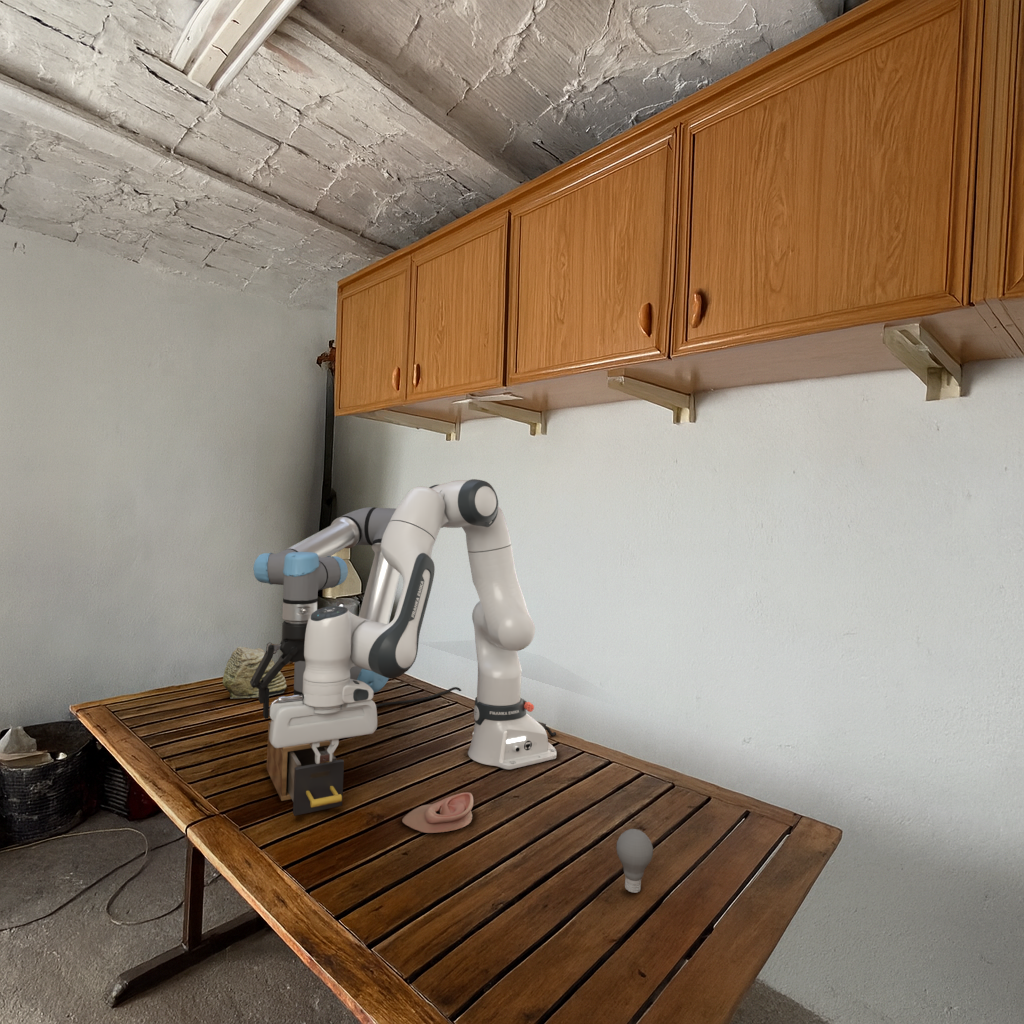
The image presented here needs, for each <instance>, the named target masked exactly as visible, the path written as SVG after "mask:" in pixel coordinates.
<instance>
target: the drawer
mask: <svg viewBox="0 0 1024 1024" xmlns="http://www.w3.org/2000/svg"><path fill="white" fill-rule="evenodd" d="M316 748H317V750H318V751H319V752H322V751H327V749H328V747H327V746H321V747H316ZM344 770H345V761H344V759H343V758H341V759H337V757H336V756H335V754H334V755H333V753H332V762H327V763H321V764H316V762H315V752H314V751H313V749H312V748H309V749H303V750H296V751H290V752H288V757H287V784H286V789H287V791H288V793H289V795H290V797H291V799H290V800H292V814H293V816H300V815H305V814H309V813H315V812H319V811H325V810H328V809H333V808H334V809H335V808H337V807H342V806H343V796H344V795H343V794H344V772H345V771H344Z"/></svg>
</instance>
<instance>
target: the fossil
mask: <svg viewBox="0 0 1024 1024" xmlns="http://www.w3.org/2000/svg"><path fill="white" fill-rule="evenodd" d="M265 653H266V651H265V650H264V649H263V648H260V647H258V648H251V647H247V646H246V647H245V646H238V647H237V648H236V649H235V650H233V651H232V653H231V656H230V657H229V659H228V660H227V663H226V666H225V668H224V671H223V675H222V676H223V677H222V685H223V687H224V688H225V690H226V691H228V693H229V698H230V699H250V698H259V689H258V688H253V687H252V686H251V684H250V681H251V679H252V677H253V675H254V673H255V671H256V670H257V668H258V666H259V664H260V662H261V660H262V658H263V656H264V655H265ZM275 663H276V662H274V660H273V658H272V659H271V661H270V663H269V665H268V667H267V668H266V670H265V672H264V674H263V676H262V678H261V680H262V679H263V677H264V676H265V675H266V674H267V673H268V672H269V670H270V669H271V668H272V667H273V666H274V664H275ZM261 680H260V681H261ZM287 687H288V686H287V680H286V678H285V676H284V674H283V673H282V672H281V671H280V672H279V673H278V674H277V675H276V676H275V678H274V679H273V680H272V681H271V682H270V684H269V685H268V688H269V697H271V696H275V695H281V694H284V693H285V691H286V689H287Z"/></svg>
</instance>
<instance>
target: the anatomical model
mask: <svg viewBox="0 0 1024 1024" xmlns="http://www.w3.org/2000/svg"><path fill="white" fill-rule="evenodd" d="M473 807H474V796H473V794H472V793H471V792H467V791H466V792H461V793H456V794H453V795H450V796H448V797H445V798H443V799H441V800H439V801H436V802H434V803H431V804H430V803H429V804H423V805H421V806H418V807H416V808H414V809H412V810H411V811H409V812H408V813H407V814H405V816H403V817H402V820H401V821H402V823H403V824H404V825H405V826H406V827H409V828H410V829H412V830H415V831H418V832H421V833H424V834H435V833H437V834H438V833H446V832H452V831H456V830H459V829H463V828H464V827H466V826H468V825H470V824H471V822H472V820H473V813H472V809H474V808H473Z"/></svg>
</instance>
